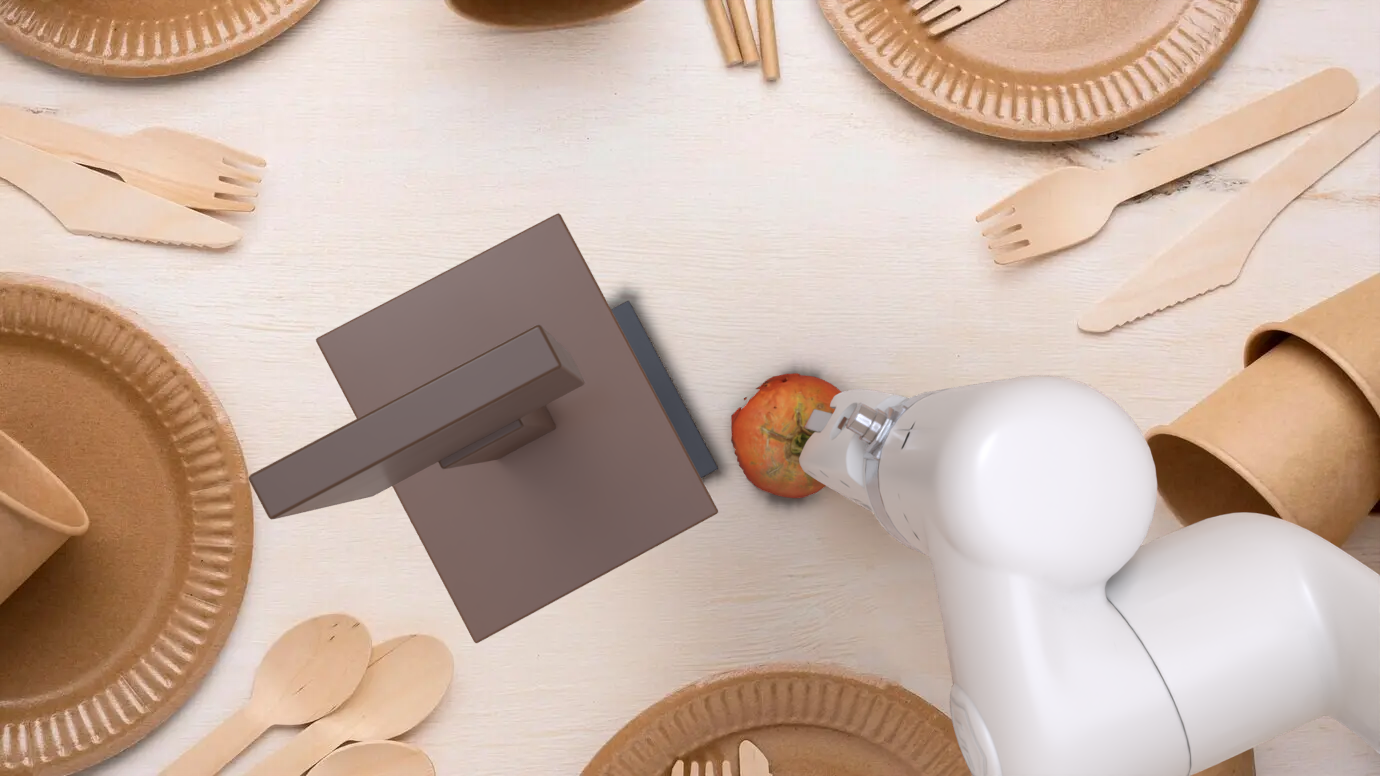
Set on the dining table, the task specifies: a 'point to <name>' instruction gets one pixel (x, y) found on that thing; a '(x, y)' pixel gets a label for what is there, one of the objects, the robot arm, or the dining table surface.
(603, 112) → the dining table surface
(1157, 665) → the robot arm
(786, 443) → the tomato
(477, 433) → the stand
